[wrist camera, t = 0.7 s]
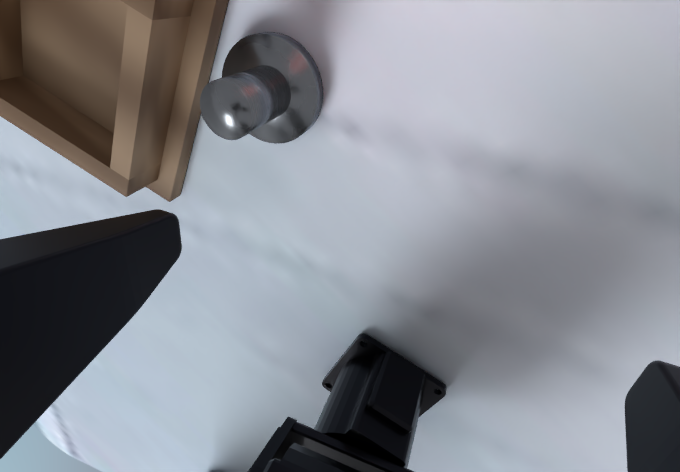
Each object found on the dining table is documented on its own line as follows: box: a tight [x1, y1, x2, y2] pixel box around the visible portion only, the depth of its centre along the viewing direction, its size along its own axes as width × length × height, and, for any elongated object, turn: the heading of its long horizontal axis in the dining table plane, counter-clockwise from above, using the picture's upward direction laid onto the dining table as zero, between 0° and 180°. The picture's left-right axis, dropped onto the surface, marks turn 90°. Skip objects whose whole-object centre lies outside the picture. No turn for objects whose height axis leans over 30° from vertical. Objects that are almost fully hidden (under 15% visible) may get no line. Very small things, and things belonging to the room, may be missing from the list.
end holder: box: [0, 0, 229, 202], centre depth 21 cm, size 13×13×4 cm
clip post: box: [200, 32, 323, 143], centre depth 19 cm, size 5×5×4 cm
